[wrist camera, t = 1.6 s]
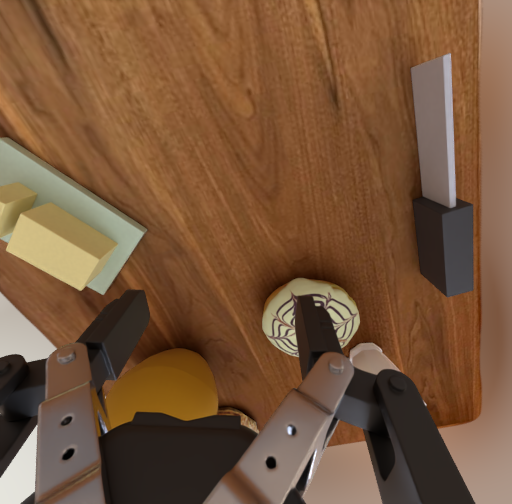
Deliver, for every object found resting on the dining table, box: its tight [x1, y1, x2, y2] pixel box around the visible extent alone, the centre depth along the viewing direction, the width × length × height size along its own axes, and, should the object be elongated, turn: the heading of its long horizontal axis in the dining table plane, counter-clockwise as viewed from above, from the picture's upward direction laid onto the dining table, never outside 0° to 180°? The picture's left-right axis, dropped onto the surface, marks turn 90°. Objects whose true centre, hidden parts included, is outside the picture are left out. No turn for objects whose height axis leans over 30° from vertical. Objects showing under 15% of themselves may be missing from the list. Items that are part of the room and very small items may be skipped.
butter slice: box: [0, 182, 37, 238], centre depth 23 cm, size 4×2×4 cm, turn 141°
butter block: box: [6, 202, 118, 291], centre depth 24 cm, size 4×7×4 cm, turn 51°
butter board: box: [0, 137, 148, 295], centre depth 26 cm, size 10×14×1 cm
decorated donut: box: [262, 278, 360, 357], centre depth 29 cm, size 10×11×4 cm
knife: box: [411, 53, 473, 297], centre depth 22 cm, size 2×20×4 cm, turn 21°
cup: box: [348, 343, 426, 405], centre depth 31 cm, size 7×10×8 cm
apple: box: [106, 348, 218, 429], centre depth 30 cm, size 13×13×11 cm
